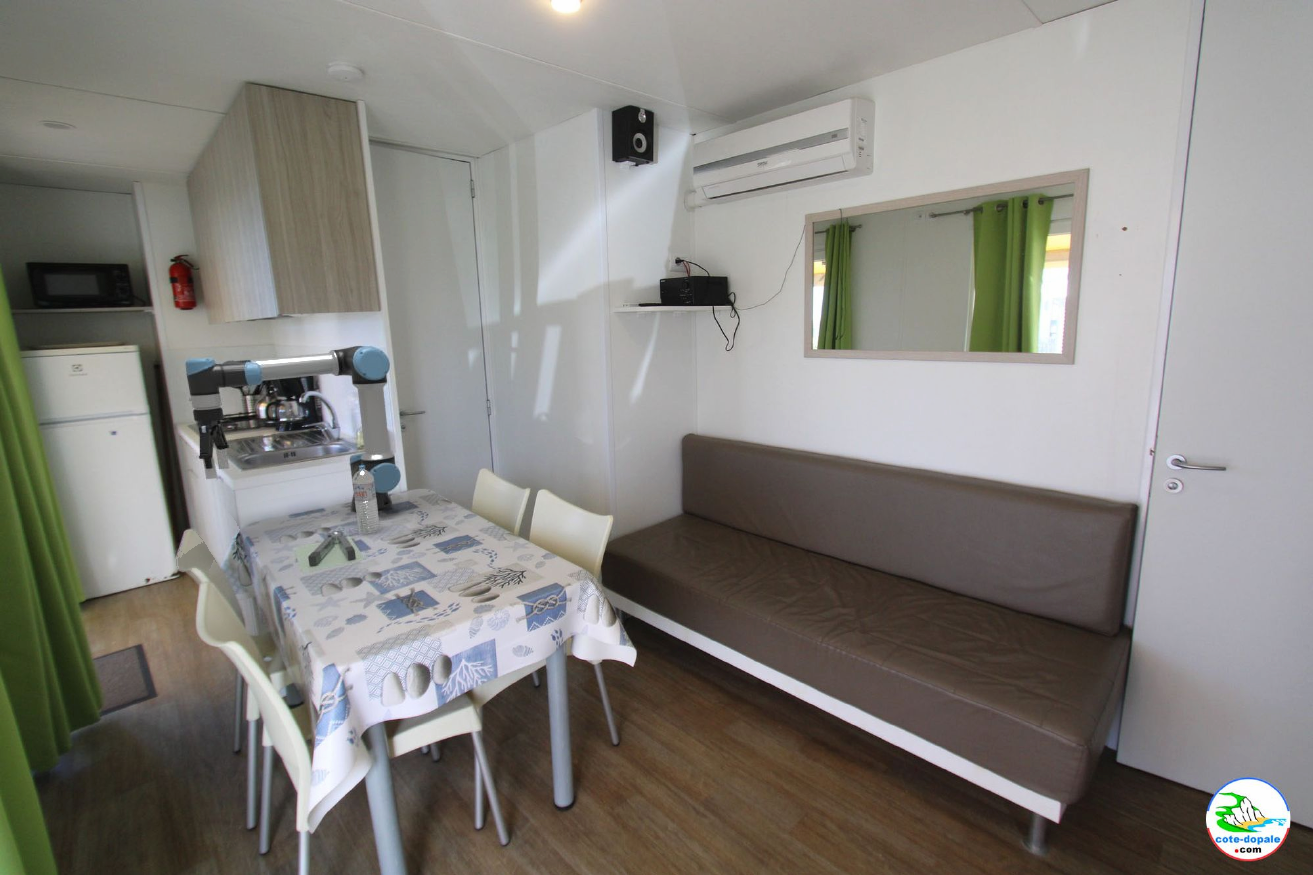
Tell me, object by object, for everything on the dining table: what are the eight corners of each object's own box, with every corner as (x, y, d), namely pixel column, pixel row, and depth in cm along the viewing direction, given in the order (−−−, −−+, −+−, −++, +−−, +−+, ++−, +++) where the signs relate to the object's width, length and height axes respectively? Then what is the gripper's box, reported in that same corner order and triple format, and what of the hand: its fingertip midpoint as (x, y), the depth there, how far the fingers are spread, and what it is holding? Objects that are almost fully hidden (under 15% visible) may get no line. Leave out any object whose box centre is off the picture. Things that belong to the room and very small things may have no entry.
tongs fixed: (342, 537, 209) (341, 527, 208) (356, 559, 190) (355, 547, 189) (327, 540, 206) (326, 530, 205) (340, 562, 187) (338, 551, 186)
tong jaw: (334, 544, 201) (333, 536, 201) (316, 565, 185) (315, 556, 184) (327, 545, 201) (326, 537, 200) (309, 565, 185) (308, 556, 184)
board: (349, 539, 210) (349, 536, 210) (365, 562, 190) (365, 559, 189) (293, 551, 200) (292, 547, 200) (303, 577, 180) (302, 573, 180)
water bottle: (354, 536, 213) (346, 467, 208) (371, 530, 219) (363, 462, 214) (367, 539, 210) (359, 469, 205) (384, 533, 216) (377, 464, 211)
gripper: (205, 403, 202) (215, 466, 206) (179, 414, 179) (191, 484, 183) (232, 402, 204) (241, 463, 208) (209, 412, 181) (220, 481, 186)
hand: (218, 473), depth 196 cm, fingers open, 13 cm apart
